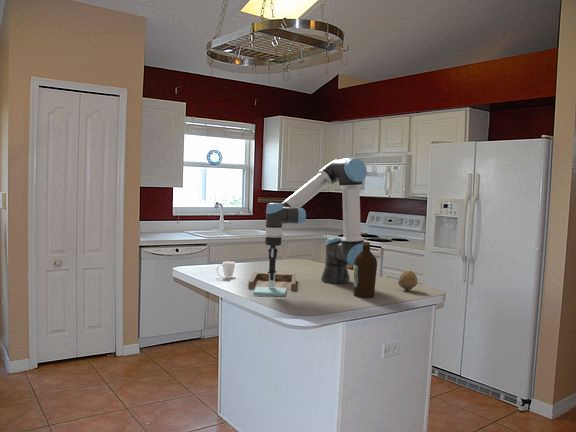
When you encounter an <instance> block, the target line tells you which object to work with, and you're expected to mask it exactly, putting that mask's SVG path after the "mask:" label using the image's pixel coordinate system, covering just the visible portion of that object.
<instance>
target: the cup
mask: <svg viewBox="0 0 576 432" xmlns="http://www.w3.org/2000/svg"><path fill="white" fill-rule="evenodd" d="M220 266H222V269H223V276H222V275H221V274H219V272H218V271H219V267H220ZM235 266H236V262H235V261H227V260H226V261H222V264H219V265H218V266H217V267H216V273H217V275H218V276H219V277H221V278H224V279H233V274H234V272H235V271H234V270H235Z"/></svg>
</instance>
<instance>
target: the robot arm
mask: <svg viewBox="0 0 576 432" xmlns="http://www.w3.org/2000/svg"><path fill="white" fill-rule="evenodd" d="M367 174H368V169H367V165H366V164H365V162H364V161H363V160H362V159H360V158H357V157H347V158H336V159H334V160H332V161H330V162H329V163H328V164H326V165H325V166H323V167H321V169H319V170H318V172H317V174H316V175H315V176H314V177H313V178H311V179H310V180H309V181H308V182H307V183H305V184H304V185H303V186H301V187H300V188H299V189H297V190H296V191H294V193H293V194H291V195H290V196H288V197H287V198H286V199H284V201H282V202H281V203H280V202H269V203H267V204H266V211H265V215H266V217H265V228H264V231H265V237H264V240H265V242H264V243H265V245H266V246H270V247H269V248H268V259H269V262H268V263H269V267H268V271H267V273H269V287H275V274H278V273H277V270H276V264H277V263H276V262H277V261H276V260H277V255H278V248H277V247H279V246H281V245H282V240H283V239H282V236H283V225H285V224H288V225H289V224H291V225H293V224H294V225H295V224H296V225H298V224H304V223H305V221H306V219H307V213H306V210H305V209H304V208H303V206H304V205H305V204H306V203H308V201H310V200H311V199H313V197H315V196H316V195H317V194H319V193H320V192H321V191H322V190H323V189H325V188H326V187H330V186H332V185H333V184H334V183H337V182H338V186H339V187H340V188H341V189H342V191H341V192H342V193H341V194H342V221H343V222H342V224H343V226H342V228H343V229H342V230H343V233H342V234H343V236H342V237H333V238H331V237H329V238H327V239H326V242H325V243H326V244H325V265H324V268H323V272H322V274H321V278H320V279H321V281H322V282H324V283H328V284H329V283H330V284H338V285H339V284H348V283H350V282H351V277H350V272H349V269H348V266H351V267H354V261H355V258H356V256H357V255H358V254H359V253H360V252H361V251H362V250H363V242H365V241H364V237H363V236H362V235H361V231H362V230H361V200H360V199H361V198H360V197H361V196H360V195H361V194H360V190H361V189H360V188H361V187H362V186H363V181H364V180H365V179H366V177H367Z"/></svg>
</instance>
